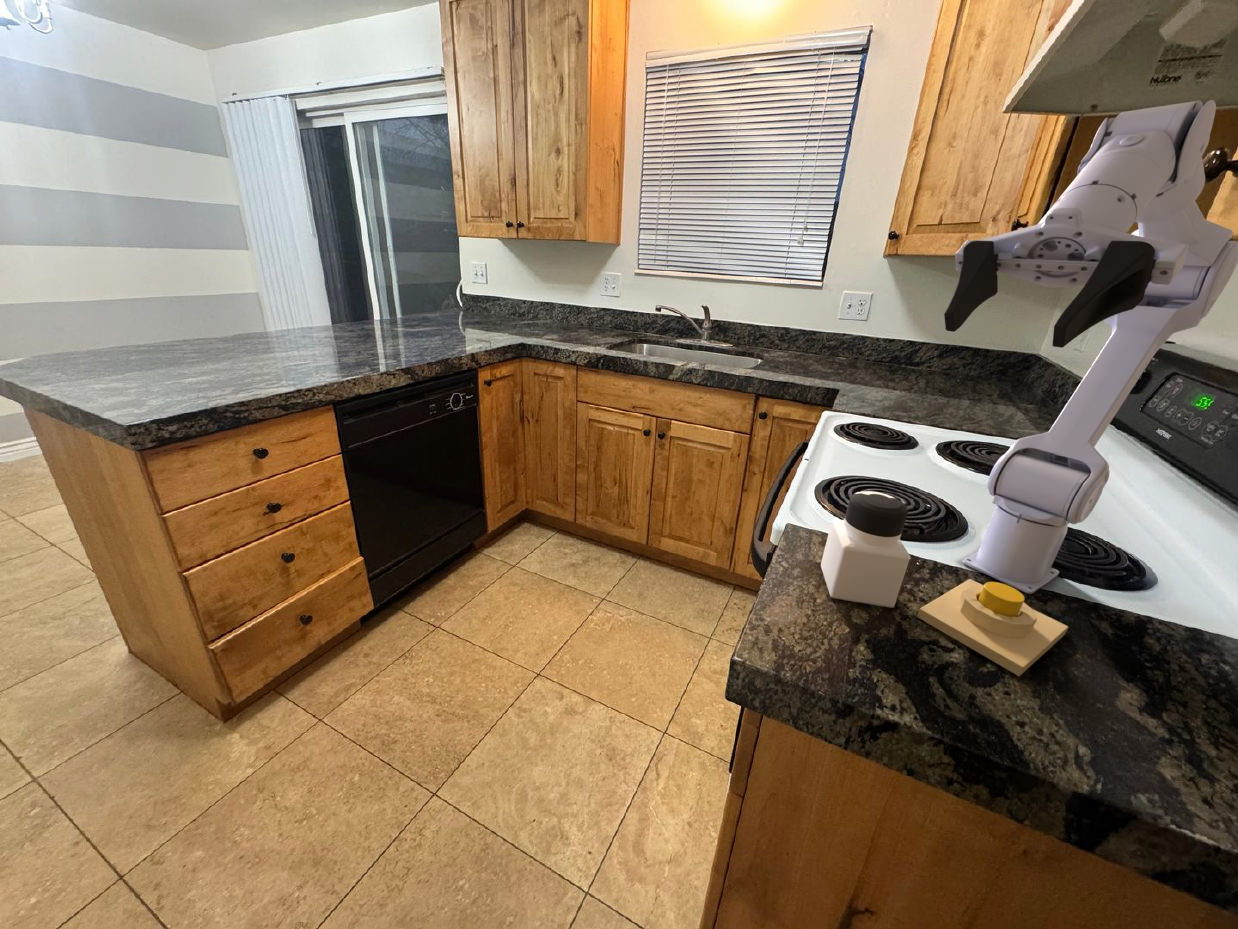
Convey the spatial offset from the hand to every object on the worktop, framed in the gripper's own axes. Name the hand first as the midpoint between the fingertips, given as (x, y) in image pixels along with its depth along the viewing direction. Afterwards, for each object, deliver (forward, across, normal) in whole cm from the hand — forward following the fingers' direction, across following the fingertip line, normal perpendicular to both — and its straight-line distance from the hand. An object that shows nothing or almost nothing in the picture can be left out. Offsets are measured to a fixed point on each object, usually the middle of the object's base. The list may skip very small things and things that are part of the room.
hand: (999, 329), depth 40 cm
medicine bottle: (+17, -8, +28) cm, 34 cm away
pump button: (+10, +5, +30) cm, 32 cm away
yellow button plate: (+12, +5, +32) cm, 35 cm away
